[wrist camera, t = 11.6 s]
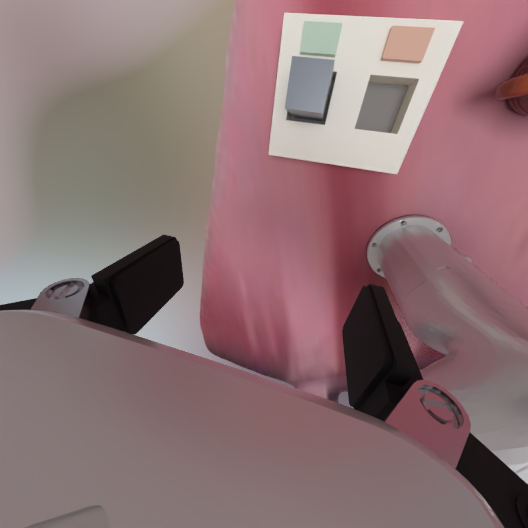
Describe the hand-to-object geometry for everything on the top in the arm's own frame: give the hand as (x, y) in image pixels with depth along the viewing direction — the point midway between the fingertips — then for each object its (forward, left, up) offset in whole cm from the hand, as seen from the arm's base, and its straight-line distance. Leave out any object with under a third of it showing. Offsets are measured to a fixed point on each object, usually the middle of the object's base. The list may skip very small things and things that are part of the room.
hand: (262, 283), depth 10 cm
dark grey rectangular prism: (+1, -11, -29) cm, 31 cm away
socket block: (-3, -11, -30) cm, 32 cm away
